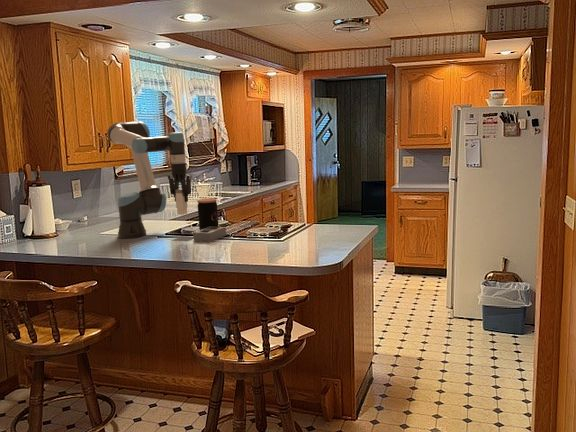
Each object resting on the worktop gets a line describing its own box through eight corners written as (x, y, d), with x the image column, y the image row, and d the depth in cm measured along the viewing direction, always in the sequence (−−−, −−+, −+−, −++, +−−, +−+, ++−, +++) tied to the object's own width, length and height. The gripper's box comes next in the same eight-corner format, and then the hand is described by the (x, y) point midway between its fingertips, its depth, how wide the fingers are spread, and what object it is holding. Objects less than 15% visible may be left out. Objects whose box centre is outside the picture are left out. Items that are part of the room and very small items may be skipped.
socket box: (193, 242, 287) (193, 232, 286) (210, 235, 301) (209, 226, 300) (210, 243, 282) (209, 233, 282) (226, 236, 297) (225, 226, 296)
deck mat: (171, 241, 291) (171, 240, 290) (182, 237, 300) (182, 236, 299) (187, 242, 286) (187, 241, 286) (198, 238, 295) (198, 237, 295)
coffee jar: (215, 233, 305) (212, 201, 302) (196, 233, 307) (194, 201, 304) (221, 229, 315) (219, 198, 312) (203, 229, 317) (201, 198, 314)
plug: (177, 214, 290) (175, 189, 287) (181, 213, 293) (179, 188, 291) (183, 214, 288) (181, 189, 286) (187, 213, 292) (185, 188, 289)
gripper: (160, 163, 286) (164, 208, 290) (187, 163, 279) (191, 209, 283) (169, 162, 293) (172, 206, 297) (196, 162, 286) (199, 207, 290)
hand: (181, 207), depth 290 cm, fingers closed on plug, 4 cm apart
